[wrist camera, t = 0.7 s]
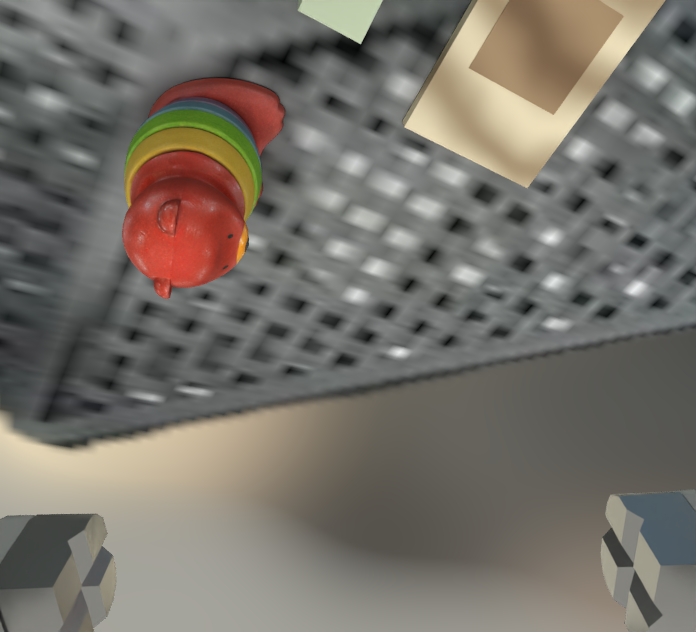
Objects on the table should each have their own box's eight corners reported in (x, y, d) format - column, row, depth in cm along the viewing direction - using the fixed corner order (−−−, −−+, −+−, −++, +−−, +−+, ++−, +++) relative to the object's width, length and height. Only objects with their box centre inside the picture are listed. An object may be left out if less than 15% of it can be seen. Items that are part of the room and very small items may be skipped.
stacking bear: (254, 214, 55) (239, 349, 41) (134, 180, 53) (74, 311, 39) (291, 95, 49) (288, 206, 35) (157, 50, 47) (96, 150, 33)
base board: (562, -157, 40) (569, -157, 39) (697, -58, 44) (707, -56, 43) (402, 121, 51) (404, 127, 50) (523, 181, 55) (527, 188, 54)
